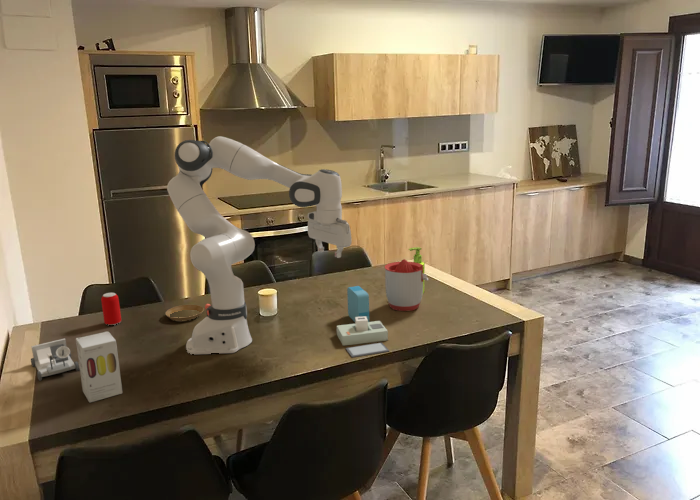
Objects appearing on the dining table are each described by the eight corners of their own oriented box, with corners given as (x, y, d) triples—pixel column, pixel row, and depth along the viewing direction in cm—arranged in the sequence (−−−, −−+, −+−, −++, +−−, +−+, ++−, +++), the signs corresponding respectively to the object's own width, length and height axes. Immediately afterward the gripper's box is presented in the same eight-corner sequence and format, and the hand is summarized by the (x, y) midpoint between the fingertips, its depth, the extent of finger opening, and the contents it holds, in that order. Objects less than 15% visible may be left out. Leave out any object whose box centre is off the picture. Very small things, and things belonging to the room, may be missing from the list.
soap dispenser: (406, 291, 249) (406, 247, 244) (420, 289, 251) (421, 245, 246) (411, 295, 244) (411, 250, 239) (426, 293, 246) (426, 248, 241)
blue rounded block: (369, 324, 213) (369, 293, 210) (358, 326, 212) (357, 295, 209) (358, 313, 224) (358, 284, 221) (347, 315, 223) (347, 286, 220)
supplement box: (89, 403, 161) (80, 348, 157) (81, 391, 168) (73, 338, 164) (124, 393, 166) (116, 339, 162) (115, 381, 174) (108, 330, 170)
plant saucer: (209, 310, 233) (209, 304, 232) (196, 324, 219) (195, 317, 218) (175, 310, 235) (174, 304, 234) (159, 323, 220) (159, 317, 220)
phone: (352, 359, 186) (352, 356, 185) (345, 350, 192) (345, 347, 192) (389, 353, 190) (389, 350, 189) (381, 345, 196) (381, 342, 196)
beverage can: (107, 328, 217) (103, 298, 214) (102, 323, 221) (98, 294, 218) (124, 323, 220) (120, 294, 217) (118, 319, 225) (114, 290, 222)
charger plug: (356, 339, 200) (356, 320, 198) (355, 335, 203) (355, 316, 202) (368, 339, 200) (367, 320, 198) (366, 334, 204) (366, 315, 202)
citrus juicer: (427, 314, 221) (428, 265, 217) (383, 313, 224) (382, 264, 219) (428, 301, 236) (429, 254, 231) (386, 299, 239) (386, 253, 234)
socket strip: (343, 345, 195) (342, 335, 194) (336, 334, 204) (336, 325, 203) (387, 340, 198) (387, 330, 197) (379, 329, 208) (379, 320, 207)
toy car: (77, 345, 177) (35, 356, 171) (81, 374, 180) (41, 385, 173) (65, 329, 191) (26, 337, 185) (69, 355, 194) (31, 365, 187)
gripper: (355, 220, 194) (355, 259, 198) (318, 210, 209) (318, 247, 212) (342, 222, 190) (341, 262, 194) (304, 213, 205) (305, 250, 208)
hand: (329, 254), depth 203 cm, fingers open, 8 cm apart
